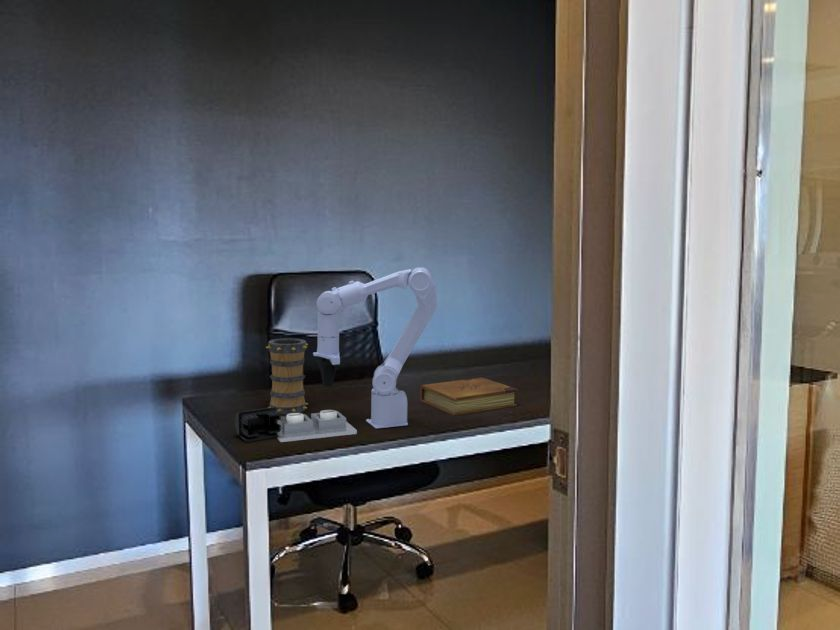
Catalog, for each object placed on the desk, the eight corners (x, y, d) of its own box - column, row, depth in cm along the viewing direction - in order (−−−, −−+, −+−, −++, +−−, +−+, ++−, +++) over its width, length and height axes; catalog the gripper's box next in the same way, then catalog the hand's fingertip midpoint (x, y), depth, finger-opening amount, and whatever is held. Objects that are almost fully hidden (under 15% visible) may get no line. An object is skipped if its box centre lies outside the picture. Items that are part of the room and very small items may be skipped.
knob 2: (333, 424, 198) (334, 408, 198) (338, 428, 194) (339, 413, 194) (318, 426, 196) (318, 410, 196) (322, 430, 192) (322, 414, 192)
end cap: (271, 429, 194) (271, 404, 193) (282, 436, 188) (282, 410, 187) (234, 435, 188) (234, 409, 187) (245, 442, 182) (244, 416, 181)
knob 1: (301, 427, 195) (301, 411, 194) (305, 432, 191) (305, 416, 190) (284, 429, 193) (284, 413, 192) (288, 434, 189) (288, 417, 188)
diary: (480, 394, 238) (480, 376, 238) (516, 407, 223) (517, 389, 222) (419, 402, 226) (420, 383, 226) (454, 416, 211) (454, 397, 210)
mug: (273, 417, 205) (272, 346, 202) (255, 403, 220) (254, 337, 217) (316, 412, 211) (316, 343, 209) (296, 398, 226) (296, 334, 224)
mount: (340, 419, 204) (340, 407, 203) (356, 433, 191) (356, 420, 191) (268, 427, 196) (268, 414, 195) (280, 442, 183) (280, 428, 183)
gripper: (306, 332, 202) (306, 381, 204) (321, 341, 189) (321, 393, 191) (331, 331, 205) (330, 379, 207) (347, 340, 192) (347, 391, 194)
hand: (327, 385), depth 199 cm, fingers closed
